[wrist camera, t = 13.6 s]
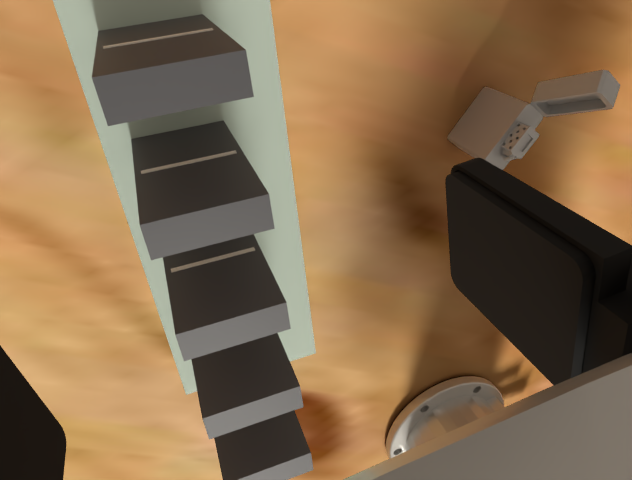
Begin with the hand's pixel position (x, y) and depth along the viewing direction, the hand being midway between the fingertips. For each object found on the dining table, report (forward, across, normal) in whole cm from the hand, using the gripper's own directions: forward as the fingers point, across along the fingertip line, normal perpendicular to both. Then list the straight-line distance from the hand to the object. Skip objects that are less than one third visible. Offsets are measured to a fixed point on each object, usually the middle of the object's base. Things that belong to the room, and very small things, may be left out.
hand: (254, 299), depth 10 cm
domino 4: (+20, +2, +14) cm, 24 cm away
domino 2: (+20, 0, +3) cm, 20 cm away
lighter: (+20, -19, +7) cm, 29 cm away
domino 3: (+20, +1, +9) cm, 21 cm away
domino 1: (+20, 0, -2) cm, 20 cm away
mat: (+20, 0, +8) cm, 22 cm away
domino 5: (+20, +2, +20) cm, 28 cm away
